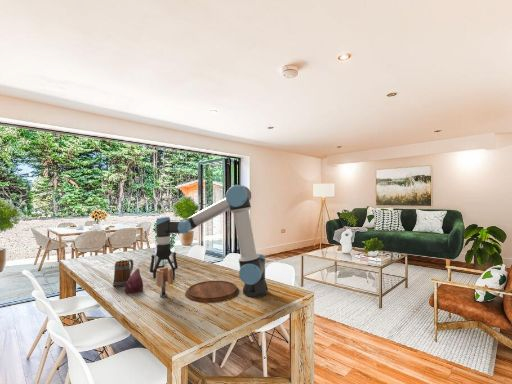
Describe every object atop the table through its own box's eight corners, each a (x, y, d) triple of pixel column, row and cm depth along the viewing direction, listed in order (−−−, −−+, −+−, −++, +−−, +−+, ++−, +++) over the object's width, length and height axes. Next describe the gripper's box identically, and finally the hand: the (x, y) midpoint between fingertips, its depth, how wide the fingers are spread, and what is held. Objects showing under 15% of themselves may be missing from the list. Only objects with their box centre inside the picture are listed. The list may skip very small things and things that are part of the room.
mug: (123, 287, 170) (123, 264, 170) (109, 286, 172) (109, 263, 172) (139, 280, 185) (139, 258, 185) (125, 279, 187) (125, 257, 187)
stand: (167, 296, 155) (167, 277, 155) (160, 297, 153) (160, 278, 153) (166, 294, 158) (166, 275, 158) (159, 295, 156) (159, 276, 156)
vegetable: (137, 292, 170) (141, 268, 175) (145, 293, 164) (149, 268, 168) (121, 292, 163) (125, 267, 167) (128, 294, 156) (133, 267, 161)
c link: (172, 283, 154) (172, 269, 154) (158, 286, 150) (157, 272, 150) (169, 280, 161) (169, 266, 161) (155, 282, 157) (155, 268, 157)
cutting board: (230, 281, 182) (230, 277, 182) (246, 298, 153) (246, 293, 153) (182, 287, 171) (182, 283, 171) (188, 307, 141) (188, 302, 141)
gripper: (180, 240, 164) (180, 277, 164) (143, 244, 154) (144, 284, 153) (183, 242, 158) (183, 281, 157) (145, 246, 147) (145, 287, 147)
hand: (164, 282), depth 155 cm, fingers closed on c link, 8 cm apart
